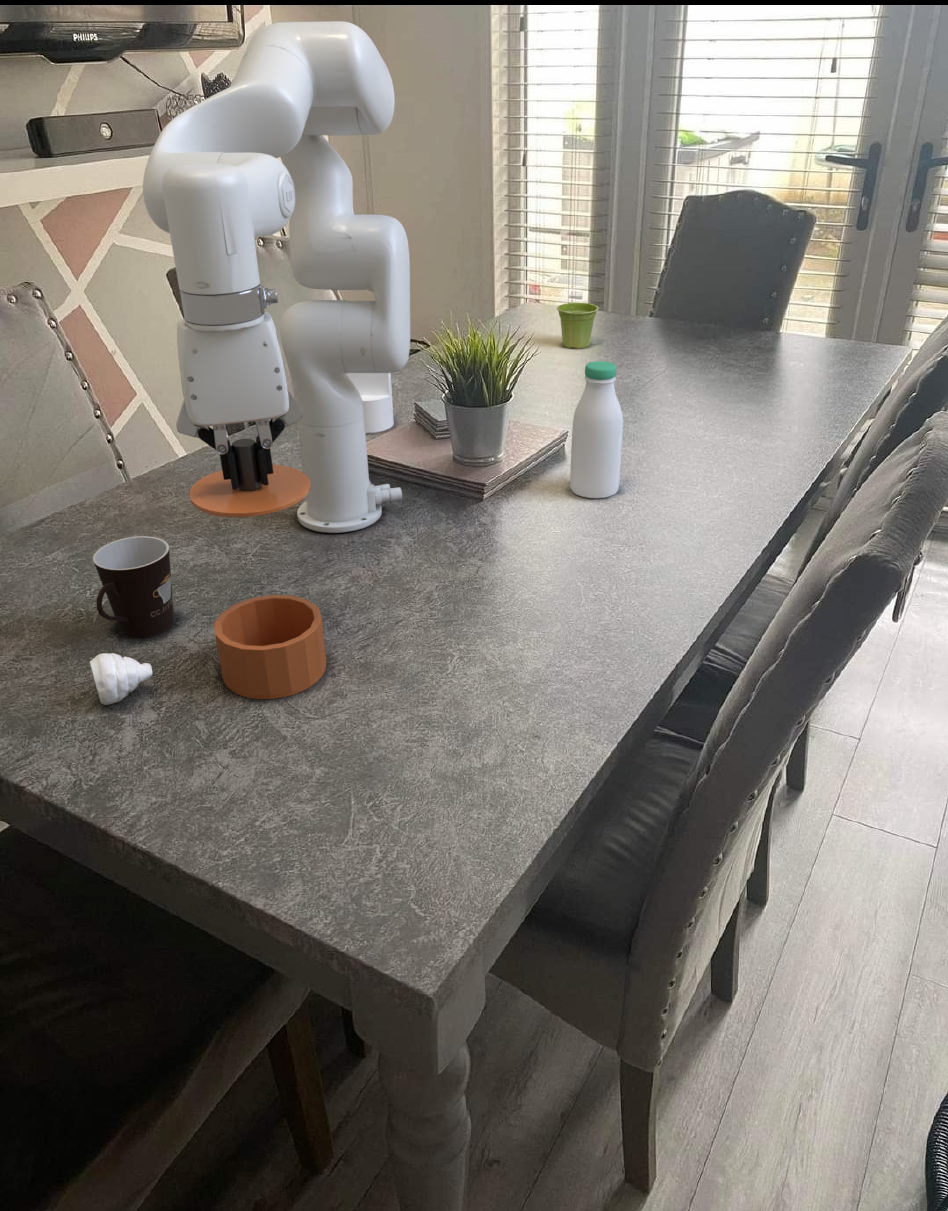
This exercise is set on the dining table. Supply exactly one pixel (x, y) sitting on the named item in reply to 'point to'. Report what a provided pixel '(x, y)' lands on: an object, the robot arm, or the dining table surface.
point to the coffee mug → (136, 585)
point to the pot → (271, 646)
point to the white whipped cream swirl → (117, 676)
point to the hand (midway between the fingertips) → (249, 481)
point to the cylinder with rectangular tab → (375, 399)
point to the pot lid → (249, 487)
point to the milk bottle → (597, 435)
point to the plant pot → (577, 323)
